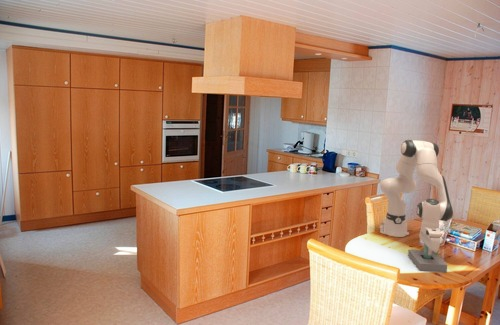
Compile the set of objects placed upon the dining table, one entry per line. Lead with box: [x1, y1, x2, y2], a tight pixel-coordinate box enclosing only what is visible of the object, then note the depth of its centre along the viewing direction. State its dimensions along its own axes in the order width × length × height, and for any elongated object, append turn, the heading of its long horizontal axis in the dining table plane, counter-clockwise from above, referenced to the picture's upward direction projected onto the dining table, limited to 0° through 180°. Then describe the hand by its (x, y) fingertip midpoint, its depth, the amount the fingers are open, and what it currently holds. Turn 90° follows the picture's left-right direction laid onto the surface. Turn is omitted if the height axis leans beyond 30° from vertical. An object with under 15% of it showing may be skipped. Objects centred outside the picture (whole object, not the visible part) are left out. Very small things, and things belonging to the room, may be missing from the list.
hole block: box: [407, 249, 448, 273], centre depth 218 cm, size 20×14×4 cm
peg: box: [423, 244, 431, 259], centre depth 217 cm, size 4×4×10 cm
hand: (427, 252), depth 217 cm, fingers closed on peg, 4 cm apart
